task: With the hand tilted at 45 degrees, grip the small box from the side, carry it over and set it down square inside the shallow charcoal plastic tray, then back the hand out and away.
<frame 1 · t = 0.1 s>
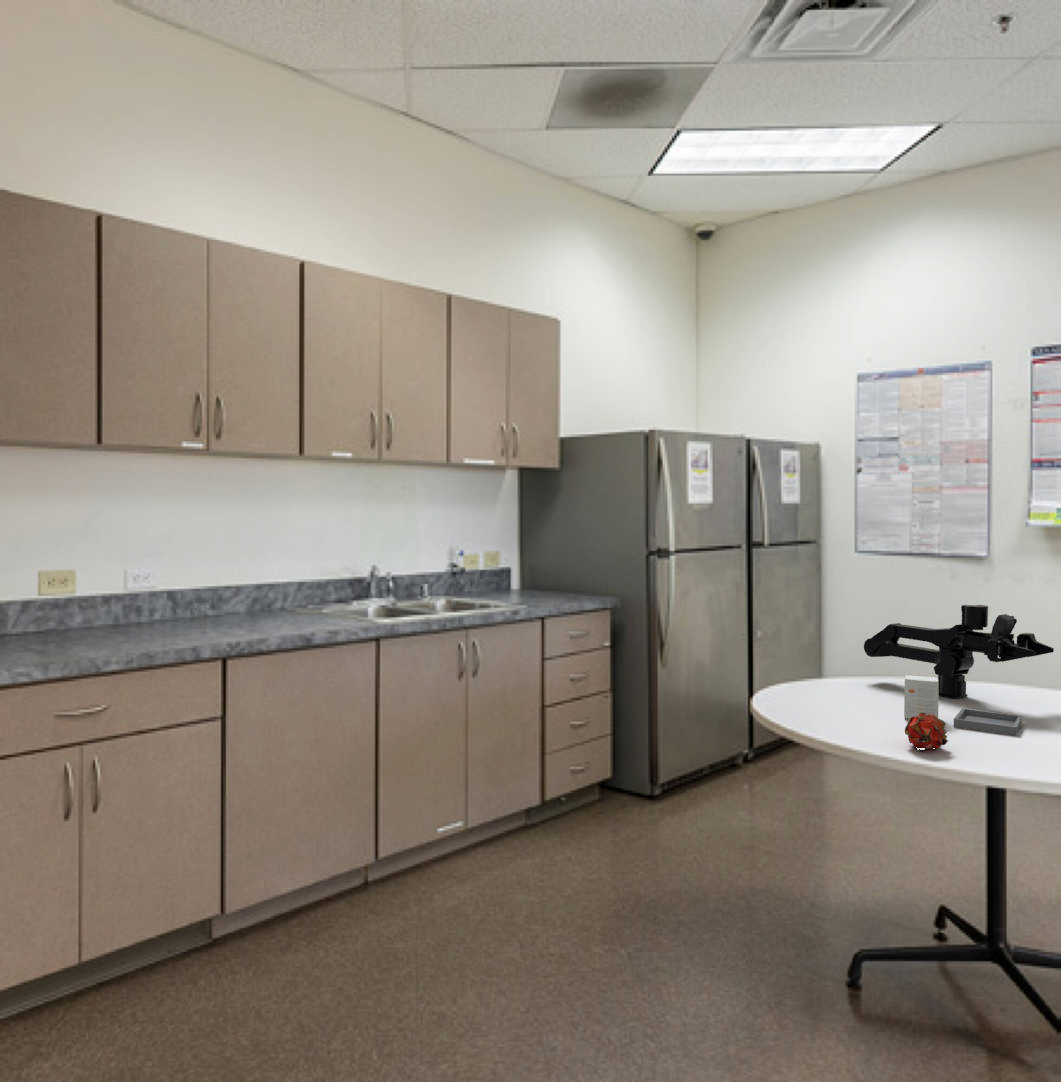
hand: (1044, 651, 223), 17 cm above the table, tool horizontal, fingers open, 9 cm apart
small box: (920, 719, 220), on the table
dragon fruit: (925, 749, 193), on the table
tray: (988, 725, 213), on the table
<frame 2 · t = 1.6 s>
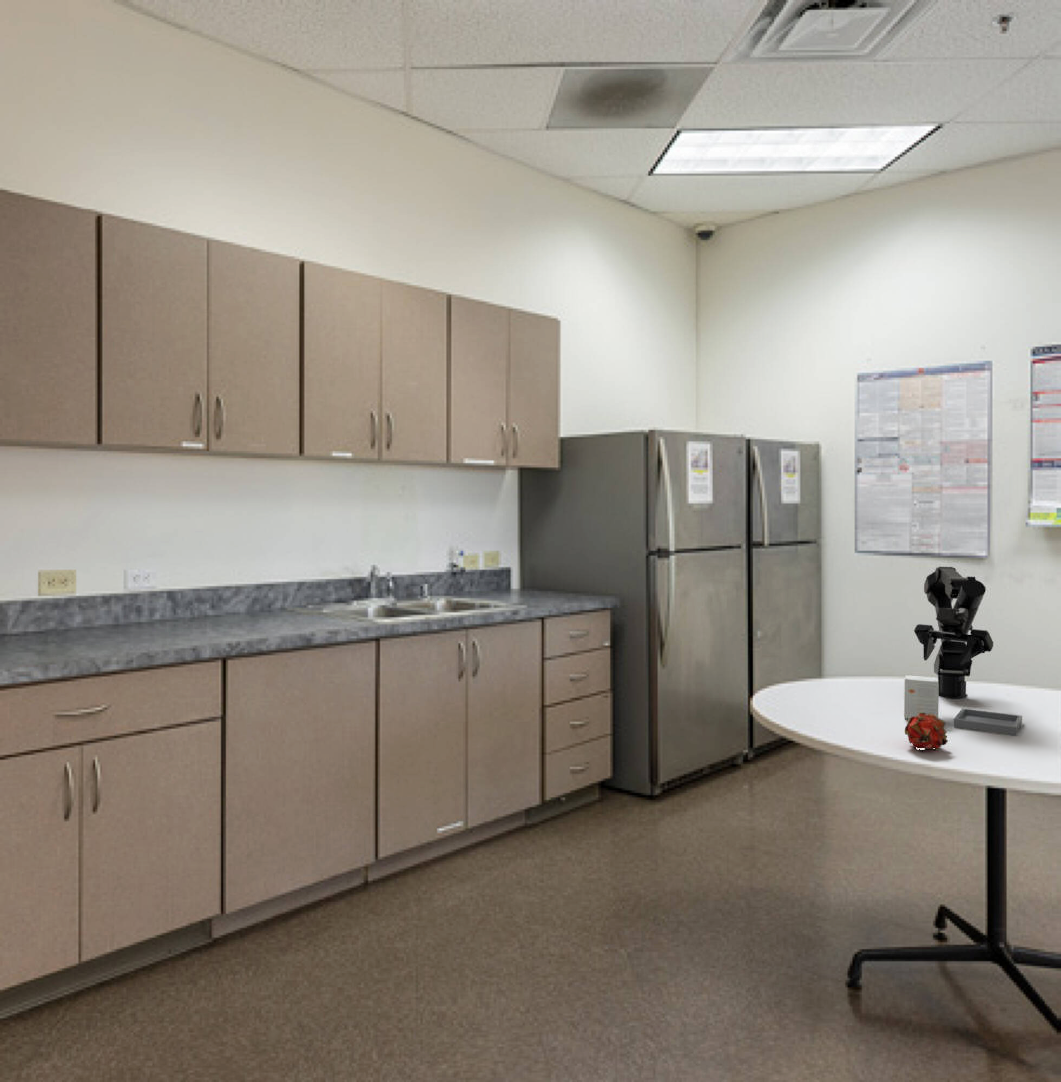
hand: (942, 661, 223), 14 cm above the table, tool tilted 45°, fingers open, 9 cm apart
nothing on the table moved.
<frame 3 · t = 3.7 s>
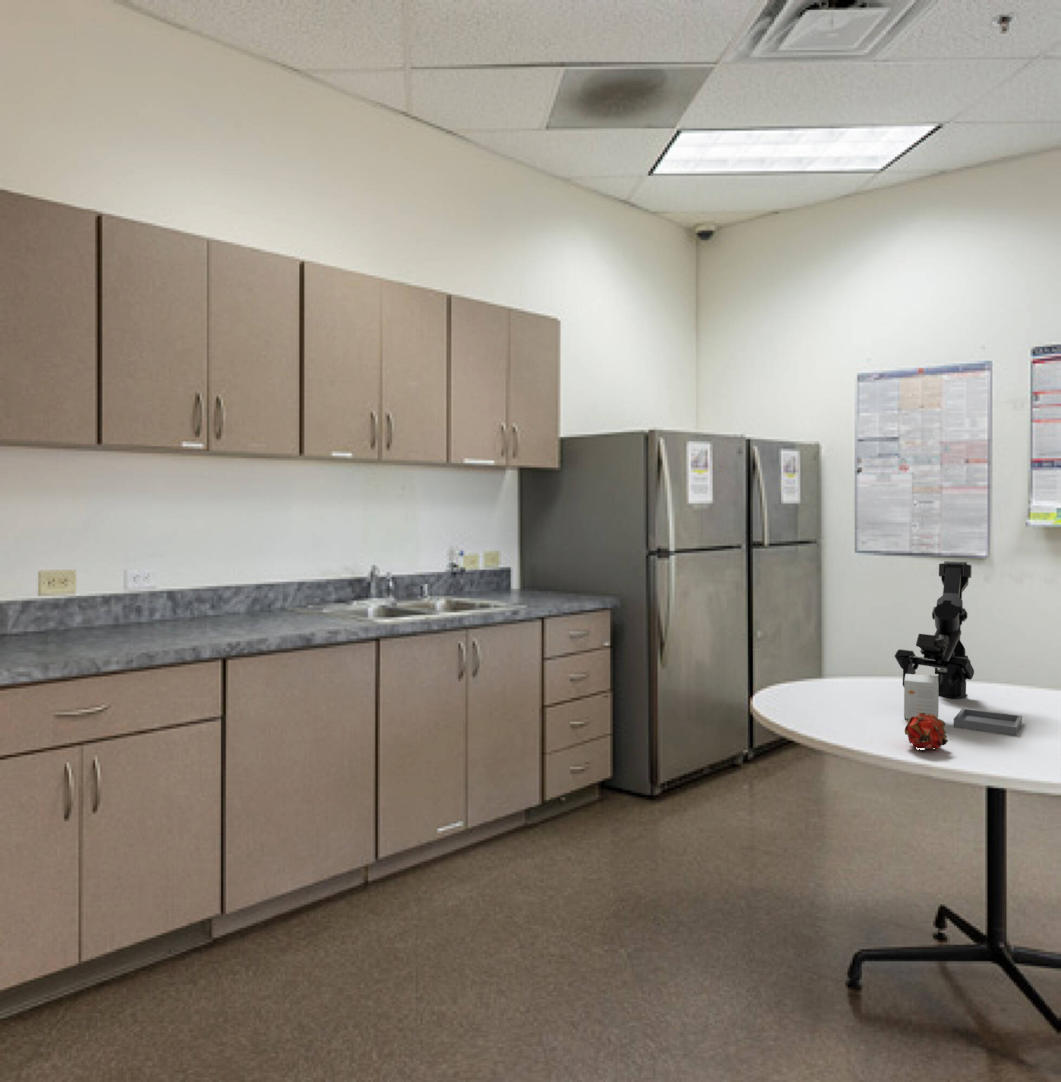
hand: (921, 689, 219), 8 cm above the table, tool tilted 45°, fingers closed on small box, 9 cm apart
small box: (920, 717, 220), on the table, touching gripper
everything else where it was.
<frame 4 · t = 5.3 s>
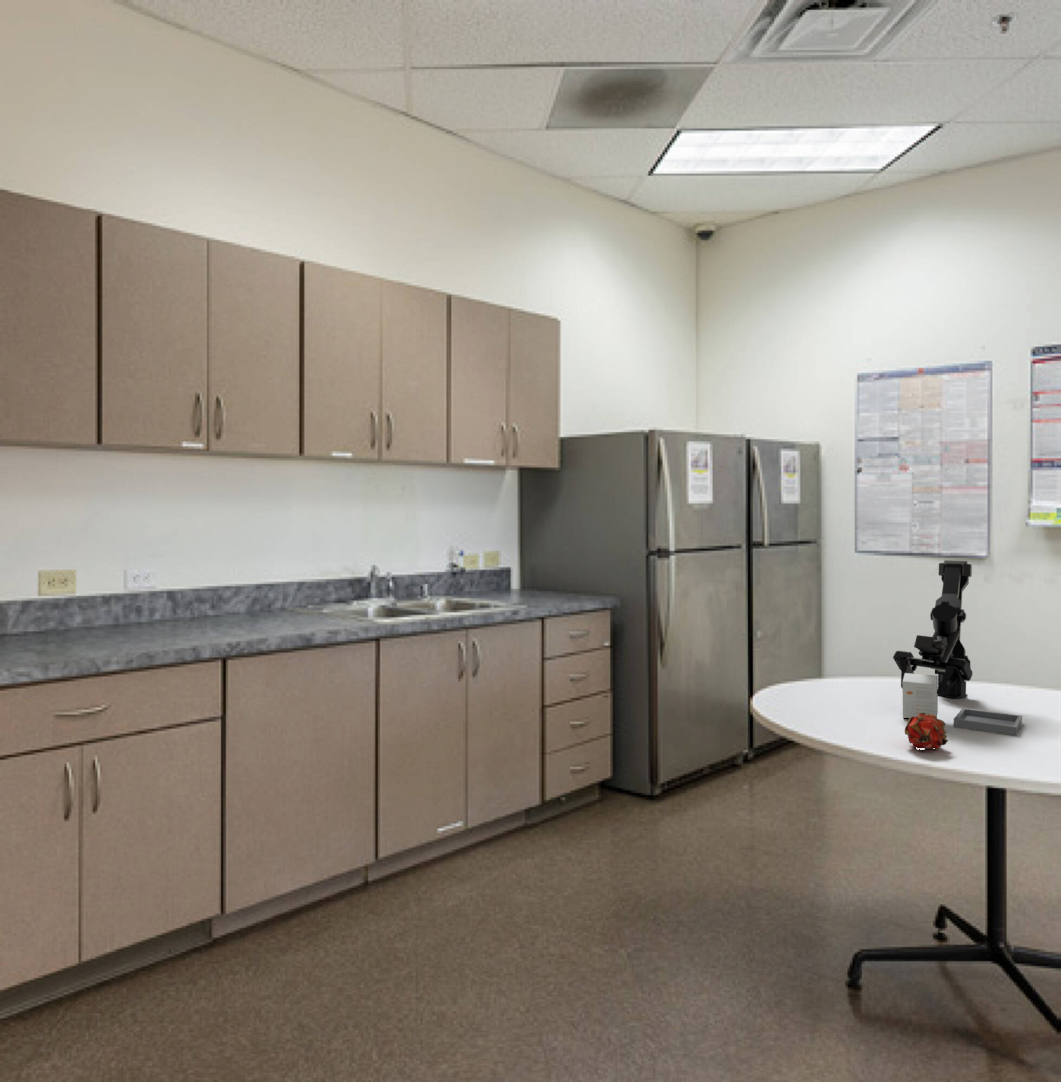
hand: (919, 690, 218), 7 cm above the table, tool tilted 45°, fingers closed on small box, 9 cm apart
small box: (920, 716, 220), on the table, touching gripper
everything else where it was.
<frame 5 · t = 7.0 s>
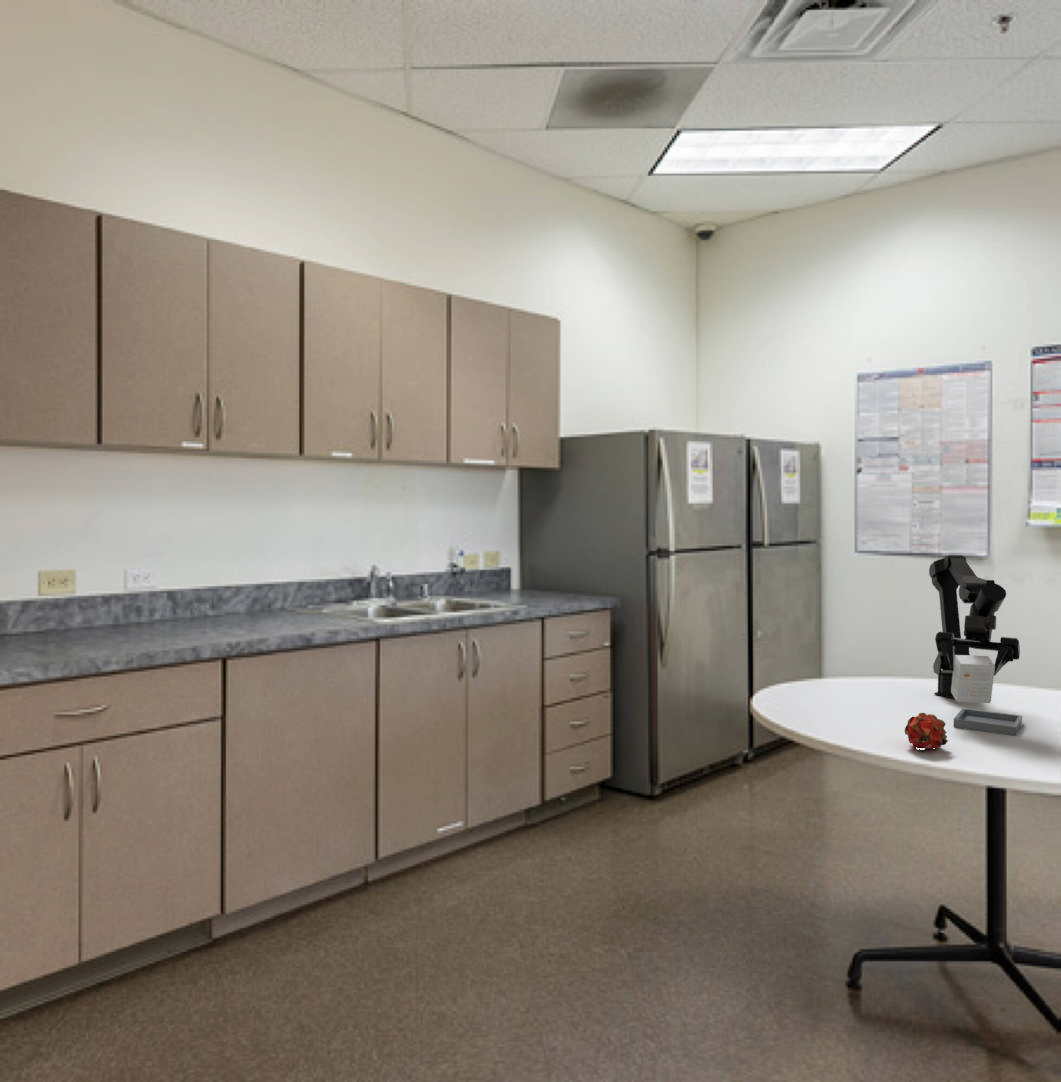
hand: (972, 672, 212), 13 cm above the table, tool tilted 45°, fingers closed on small box, 9 cm apart
small box: (970, 698, 214), point 6 cm above the table, touching gripper
everything else where it was.
when the fingers open (8 cm above the table, at t = 10.2 s): small box stays where it is, resting on tray.
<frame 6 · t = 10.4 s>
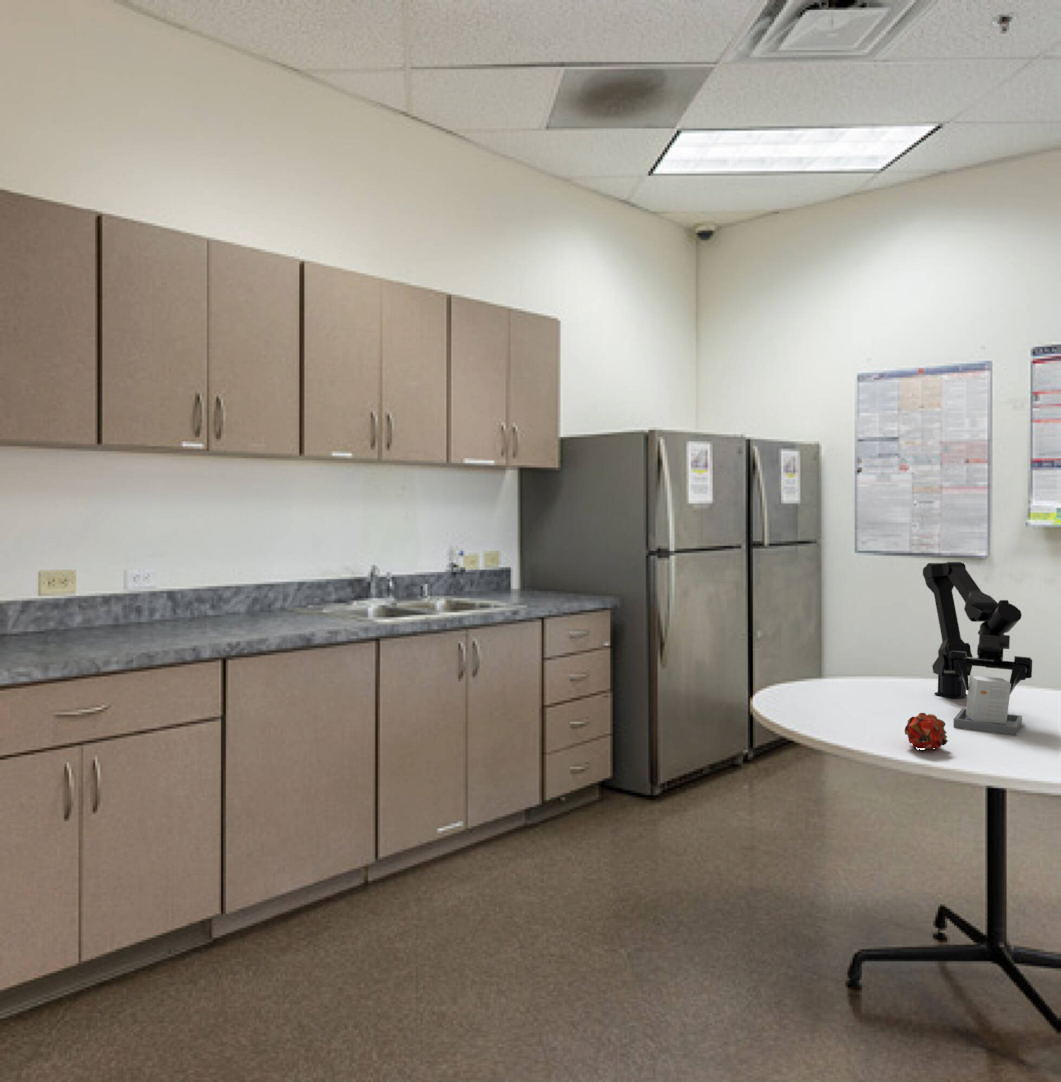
hand: (988, 691, 214), 8 cm above the table, tool tilted 45°, fingers open, 9 cm apart
small box: (985, 720, 214), point 1 cm above the table, touching gripper, tray
everything else where it was.
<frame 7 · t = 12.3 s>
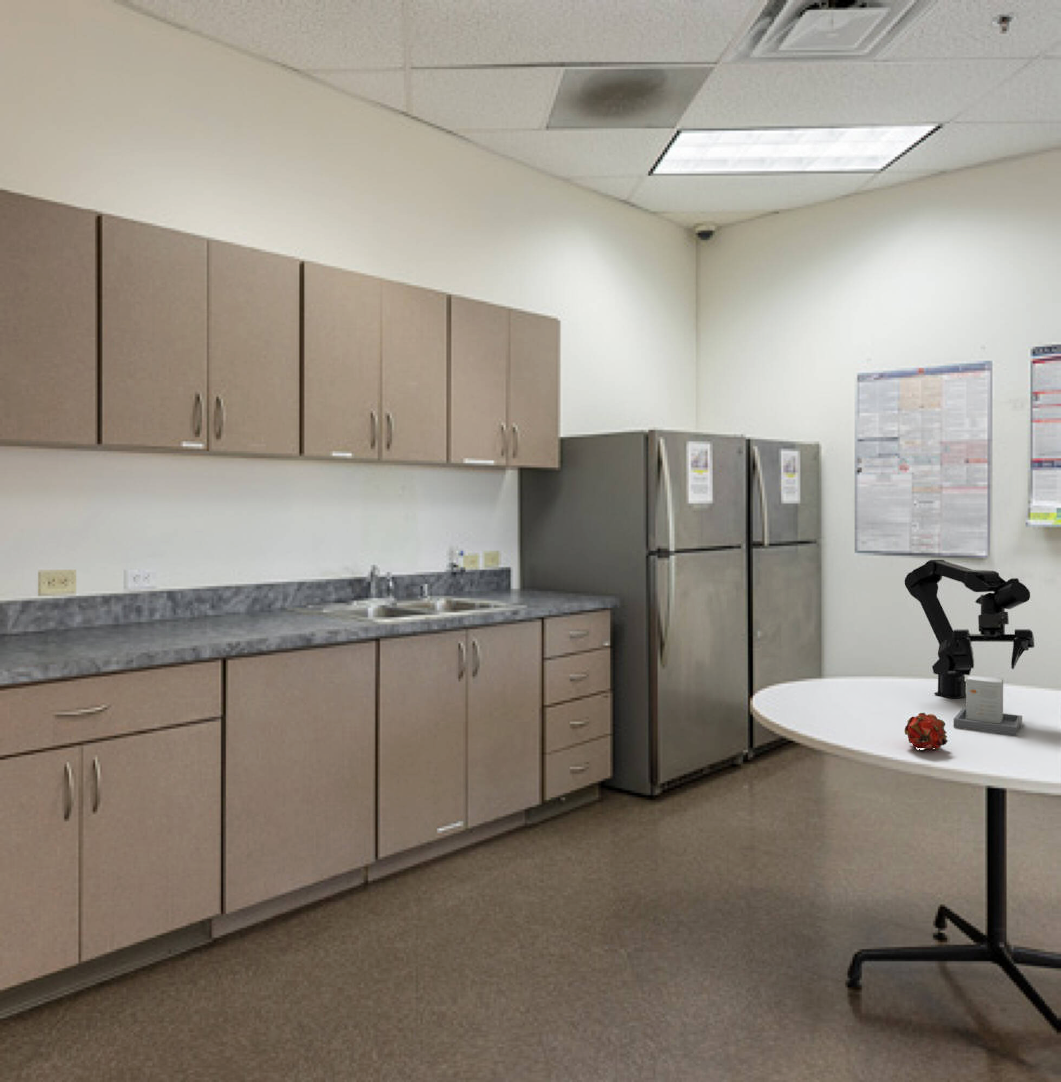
hand: (992, 668, 222), 13 cm above the table, tool tilted 35°, fingers open, 9 cm apart
small box: (984, 720, 216), resting on tray
everything else where it was.
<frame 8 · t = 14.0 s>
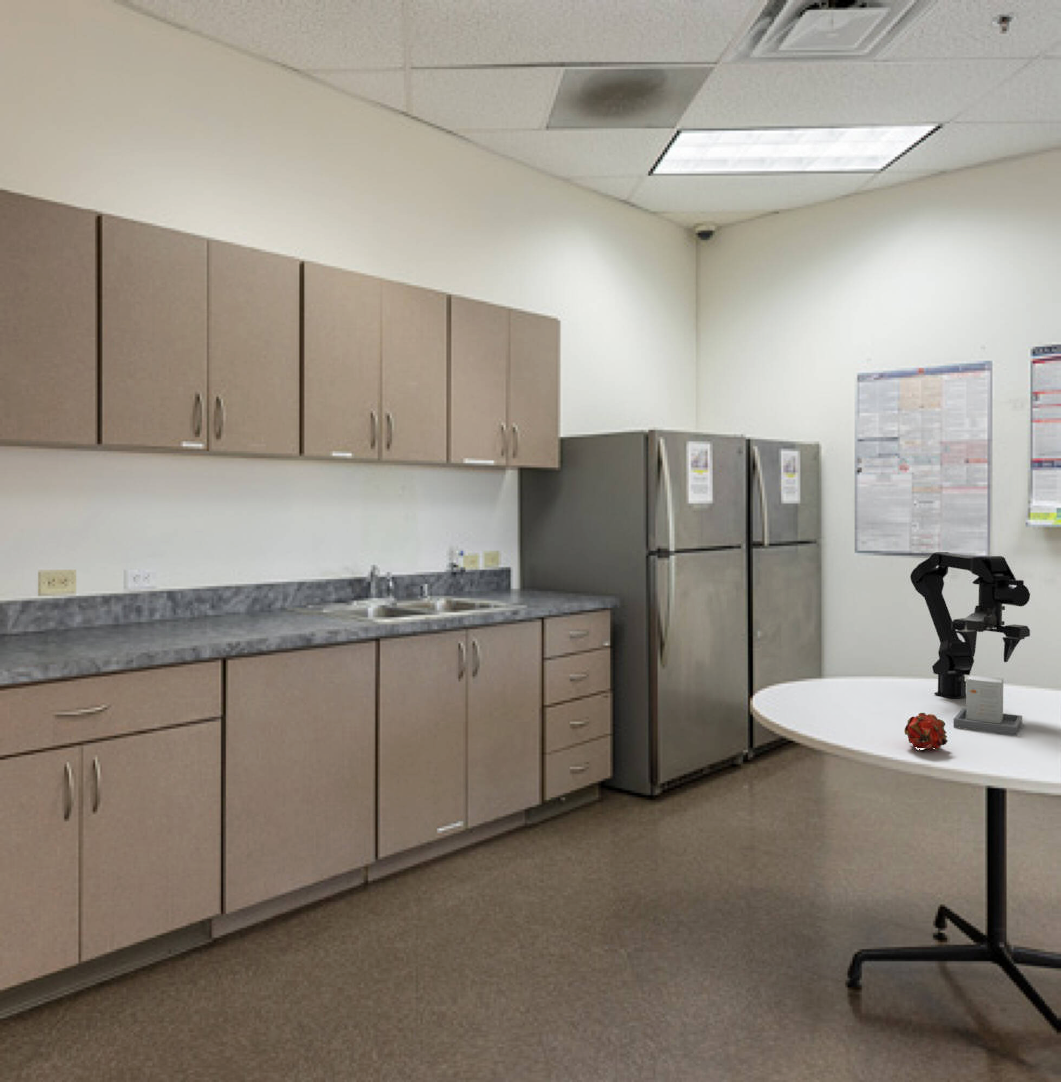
hand: (988, 659, 232), 13 cm above the table, tool pointing down, fingers open, 9 cm apart
nothing on the table moved.
at the end: small box 3.2 cm off-centre on the tray, point 0.4 cm above the tray's base; small box tilted 0°; the gripper is holding nothing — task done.
